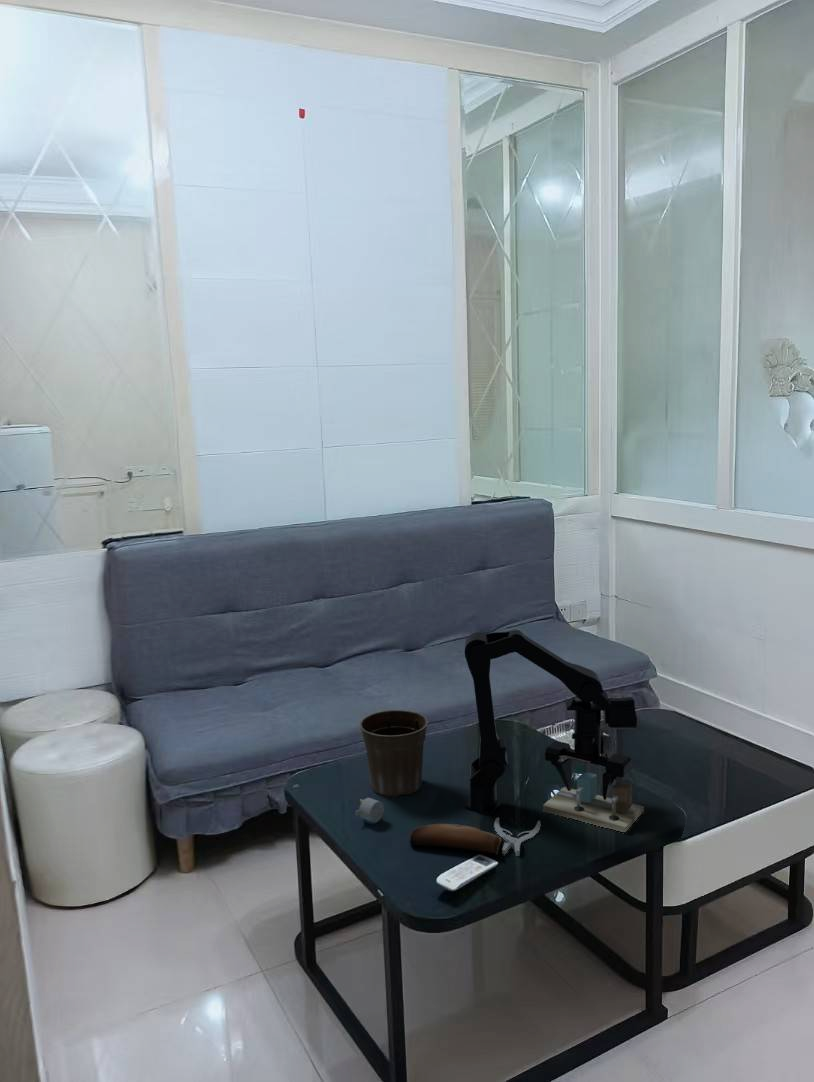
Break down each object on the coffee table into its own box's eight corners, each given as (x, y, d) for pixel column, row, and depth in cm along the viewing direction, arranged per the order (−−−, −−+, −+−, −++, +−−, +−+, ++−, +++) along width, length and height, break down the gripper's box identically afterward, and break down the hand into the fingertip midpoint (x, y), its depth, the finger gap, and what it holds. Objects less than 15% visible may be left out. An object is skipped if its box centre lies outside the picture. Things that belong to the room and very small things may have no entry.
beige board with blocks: (625, 833, 180) (625, 802, 179) (542, 811, 191) (542, 781, 189) (643, 812, 189) (644, 782, 187) (564, 792, 199) (564, 764, 198)
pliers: (541, 817, 185) (535, 852, 171) (541, 824, 186) (535, 859, 171) (495, 813, 188) (486, 848, 173) (495, 820, 188) (486, 855, 174)
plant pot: (415, 806, 195) (413, 738, 193) (350, 796, 201) (348, 730, 199) (439, 776, 210) (437, 713, 208) (378, 768, 216) (376, 707, 214)
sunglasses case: (503, 835, 179) (499, 817, 175) (498, 866, 174) (494, 848, 170) (420, 826, 185) (415, 808, 180) (413, 856, 179) (407, 838, 175)
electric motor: (372, 811, 193) (371, 790, 192) (387, 817, 190) (387, 796, 189) (350, 823, 188) (349, 801, 187) (366, 829, 185) (365, 808, 184)
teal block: (584, 808, 187) (584, 786, 186) (571, 804, 188) (571, 783, 188) (596, 795, 192) (597, 774, 192) (584, 792, 194) (584, 771, 193)
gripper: (641, 724, 190) (640, 790, 193) (564, 709, 201) (564, 772, 203) (623, 741, 181) (622, 810, 184) (542, 724, 192) (543, 790, 194)
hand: (587, 794), depth 191 cm, fingers open, 8 cm apart
